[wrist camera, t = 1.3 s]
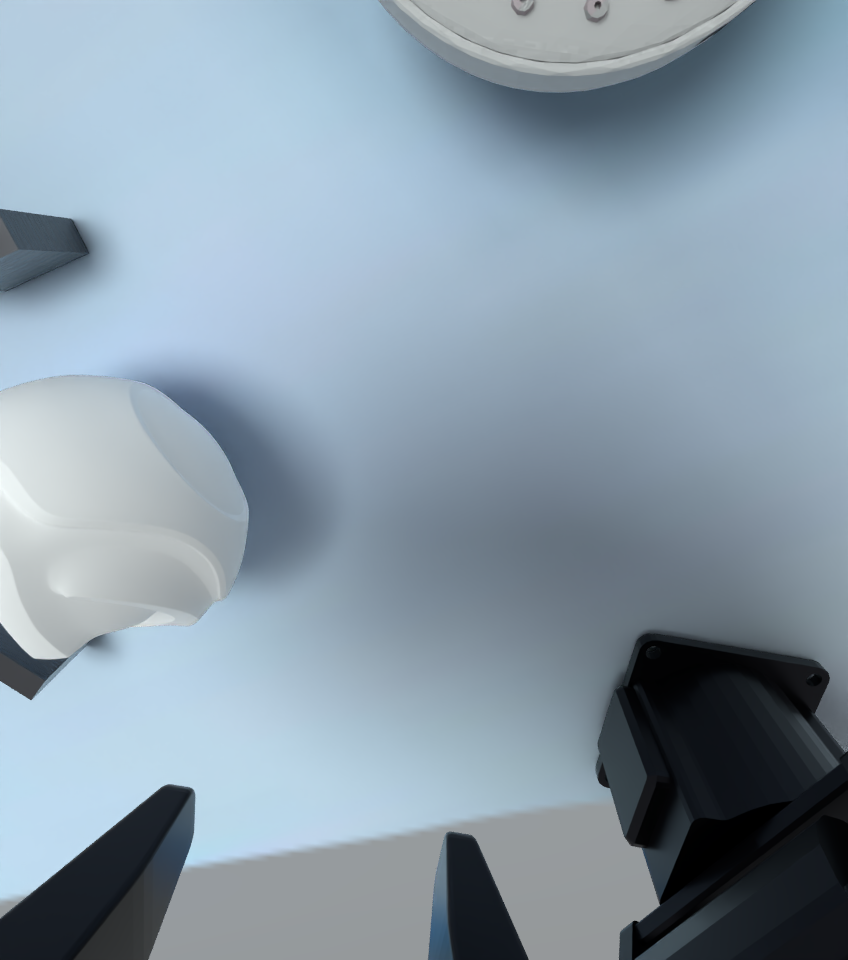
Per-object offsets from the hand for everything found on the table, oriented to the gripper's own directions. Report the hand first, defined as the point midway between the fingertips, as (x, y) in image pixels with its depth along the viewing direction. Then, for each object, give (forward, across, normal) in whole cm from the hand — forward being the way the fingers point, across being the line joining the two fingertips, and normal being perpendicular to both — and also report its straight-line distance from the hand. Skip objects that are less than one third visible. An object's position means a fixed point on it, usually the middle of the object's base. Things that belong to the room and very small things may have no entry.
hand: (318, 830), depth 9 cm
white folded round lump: (+12, +8, 0) cm, 15 cm away
